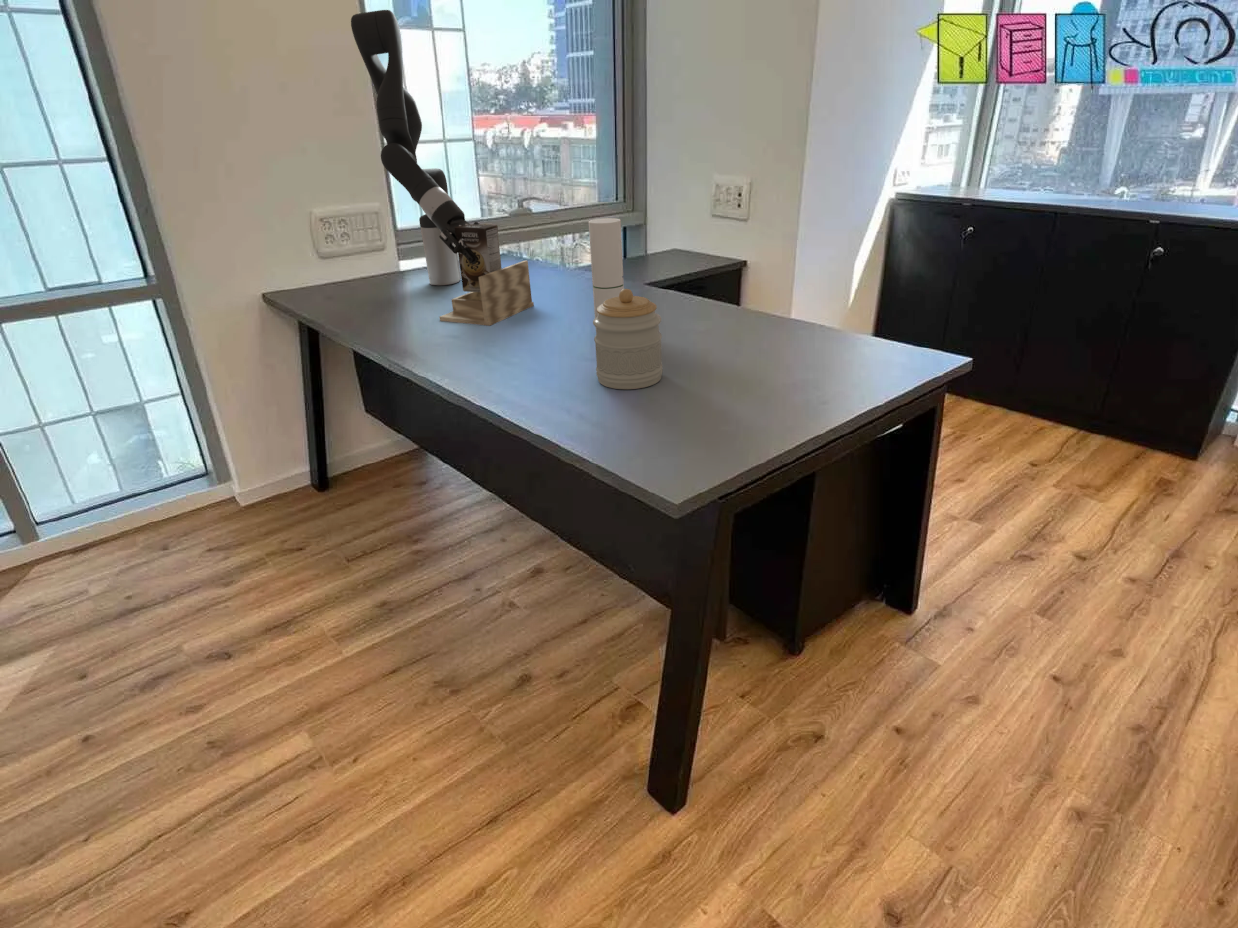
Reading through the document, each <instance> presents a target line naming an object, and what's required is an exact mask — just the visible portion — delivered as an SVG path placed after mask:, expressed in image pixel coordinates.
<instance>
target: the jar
mask: <svg viewBox="0 0 1238 928" xmlns="http://www.w3.org/2000/svg"><path fill="white" fill-rule="evenodd" d="M657 308H658V307H657V304H656V303H654V302H653V301H651V300H649V298H646V297H643V296H638V295H634V294H633V291H632V290H631V289H629V288H624V289H623V290H621V291H620V293H619V297H614V298H610V299H608V300H606V301H604V303H603V304H601V305H600V306H598V307H597V312H598V313H599V316H597V317H596V318H595V317H594V318H593V320H592V324H593V326H594V327H595V332H596V334H595V336H594V338H593V340H594V343H595V345H594V346H595V358H596V368H595V370H596V373H595V374H596V376H597V381H598V383H599V384H601V385H602V386H604V387H607V388H609V389H615V390H635V389H644V388H647V387H651V386H653V385H655V384H657V383H658V382H660V381H661V379H662V375H663V371H664V370H663V368H664V367H663V363H662V338H663V336H662V335H663V334H662V333H661V332H660V327H659V326H660V324H661V322H662V316H661V315H660V314H658V313H656V311H657Z"/></svg>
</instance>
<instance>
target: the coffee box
mask: <svg viewBox="0 0 1238 928" xmlns="http://www.w3.org/2000/svg"><path fill="white" fill-rule="evenodd" d="M455 234H456V240H457V241H458V242H459V241H460V239H461V237H463V240H464V242H465V243H466V244H467V246H468V248H470V249H471V250H472V252H473V253H474V254H475V255H476V256H477V257H478V261H477V262H476V264H471V262H469V261H468V260H467V258H466V257H465V256H464V255H463V254H460V253H459V252H458V253H457V254H458V260H459V267H460V274H461V285H462V291H463V292H466V293H469V292H480V284H479V277H480V276H483V275H486V274H489V273H491V272H494V271H497V270H500V269H502V261H501V260H502V257H501V250H500V249H501V248H500V240H499V228H498V225H497V224H479V225H476V224H474V223H471V224H470V223H469V224H468V225H462V226H458V227H455ZM461 245H462V243H461Z"/></svg>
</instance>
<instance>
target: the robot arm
mask: <svg viewBox="0 0 1238 928" xmlns="http://www.w3.org/2000/svg"><path fill="white" fill-rule="evenodd" d="M350 26H351V31H352V35H353V36H352V37H354V40H355V44H356V46H357V48H358V52H359V54H360V56H361V58H362V60H363V62H364V66H365V67H366V70H367V72H368V74H369V77H370V78H371V82H372V84H373V87H374V90H375V93H376V103H375V104H376V113H377V114H376V115H377V118H378V119H377V120H378V125H379V130H380V133H381V136H382V137H383V138H384V139H385V142H386V144H385V145H384V146H383V147H382V149H381V152H380V160H381V164H382V165H383V167H384V169H385V170H386V171H387V172H388V173H389V174H390V175H391V176H392V177H393V178H394V179H395V180H396V181H397V182H398V183H399V184H400V185H401V186H402V187H404V189H405V190H406V191H407V192H408V194H409V195H410V197H411V198H412V200H413V201H414V202H416V203H417V204H418V205H419V207H421V209H422V211H423V213H424V214H423V215H421V216H420V217H419V227H420V233H421V238H422V239H421V240H422V246H423V250H424V257H425V262H426V269H427V274H428V279H429V284H430V285H432V286H448V285H452V284H456V283H459V282H460V281H462V279H461V271H460V264H459V256H458V252H459V253H460V254H463V255H464V256H465V257H466V258H467V260H468V261H469V262H471V264H476V262H477V261H478V257H477V256H476V255H475V254H474V253H473V252H472V250H471V249H470V248H468V246H467V244H466V243H465V242H464V240H463V237H461V239H460V241H459V242H458V241H457V240H456V234H455V227H458V226H462V225H468V224H470V223H469V222H468V221H466V218H465V216H466V215H465V213H464V211H463V210H462V209H461V208H460V206H458V204H457V203H456V202H455V201H454V200H453V199H452V197H451V196H450V195H449V191H448V181H447V178H446V177H447V176H446V175H445V172H444V171H443V170H442V169H441V168H438V167H437V168H422V167H421V166H420V165H419V163H418V158H417V153H416V151H417V148H418V147H417V146H418V144H419V141H420V138H421V135H422V129H423V121H422V119H421V116H420V112H419V109H418V106H417V103H416V100H415V99H414V97H413V96H412V94H411V93H410V92H409V91H408V90H407V89H406V88H405V87H404V64H403V63H404V62H403V42H402V40H403V39H402V34H401V28H400V25H399V22H398V20H397V17H396V15H395V14H394V12H393V11H391V10H390V9H378V10H373V11H366V12H360V13H355V14H353V15H352V16H351V19H350ZM381 54H382V55H383V54H388V55H387V56H388V57H387V67H386V68H385V66H384V65H383V63H382V61H381V60H380V57H379V56H378V55H381ZM473 224H476V225H480V223H479V222H478V221H474V222H473ZM461 243H462V245H461Z"/></svg>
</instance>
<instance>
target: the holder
mask: <svg viewBox="0 0 1238 928" xmlns="http://www.w3.org/2000/svg"><path fill="white" fill-rule="evenodd" d="M501 268H502V267H501ZM530 280H531V279H530V269H529V261H528V260H522V261H519V262H517V263H516V262H515V263H513V264H511V265H508V266H506V267H503V268H502V269H500V270H497V271H494V272H491V273H489V274H486V275H483V276H480V277H479V284H480V292H466V293H464V294H461V295H459V296H457V297H454V298H452V299H451V306H452V311H449V312H448V313H445V314H442V315H440V316H438V317H439V322H449V323H450V322H451V323H459V324H460V323H461V324H469V325H479V326H486V327H487V326H493V325H495V324H497V323H500V322H502V321H504V320H506V319H507V318H508V319H509V318H511V317H512V316H514V315H517V314H519V313H522V312H523V311H525V310H527V309H530V308H532V307H534V305H535V303H534V301H533V299H532V298H533V297H532V288H531V281H530Z"/></svg>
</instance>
